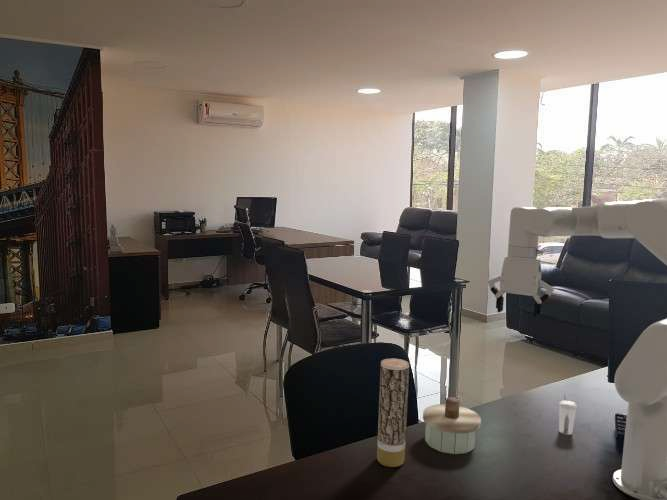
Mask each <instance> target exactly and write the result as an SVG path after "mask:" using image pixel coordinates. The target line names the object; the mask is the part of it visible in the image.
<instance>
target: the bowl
mask: <svg viewBox="0 0 667 500" xmlns="http://www.w3.org/2000/svg"><path fill="white" fill-rule="evenodd" d="M476 431H477V430H476ZM476 431H473V432H470V433H449V432H444V431H440V430H437V429H435V428H433V427H431V426H429V425H428V424H426V423H425V430H424V441H425V443H426V444H427V445H428V446H429V447H430V448H432V449H434V450H435V451H438V452H441V453H446V454H452V455H459V454H468V453H469V452H471V451H473V450H474V449H475V447H476V446H475V445H476V443H475V442H476Z"/></svg>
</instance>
